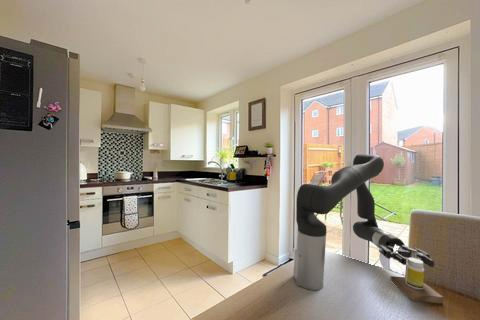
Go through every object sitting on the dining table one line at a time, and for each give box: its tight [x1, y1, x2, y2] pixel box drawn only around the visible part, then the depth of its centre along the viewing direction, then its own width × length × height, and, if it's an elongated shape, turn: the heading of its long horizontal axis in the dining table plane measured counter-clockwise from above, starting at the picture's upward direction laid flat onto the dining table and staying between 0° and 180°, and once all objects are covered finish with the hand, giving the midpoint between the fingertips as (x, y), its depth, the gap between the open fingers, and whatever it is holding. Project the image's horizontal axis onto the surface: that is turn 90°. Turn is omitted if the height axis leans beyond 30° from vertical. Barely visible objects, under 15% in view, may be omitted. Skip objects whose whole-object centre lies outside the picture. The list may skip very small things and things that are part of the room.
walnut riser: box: [390, 275, 444, 304], centre depth 70 cm, size 9×10×2 cm
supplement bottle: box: [404, 258, 425, 289], centre depth 70 cm, size 5×5×8 cm
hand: (419, 263), depth 69 cm, fingers open, 8 cm apart
